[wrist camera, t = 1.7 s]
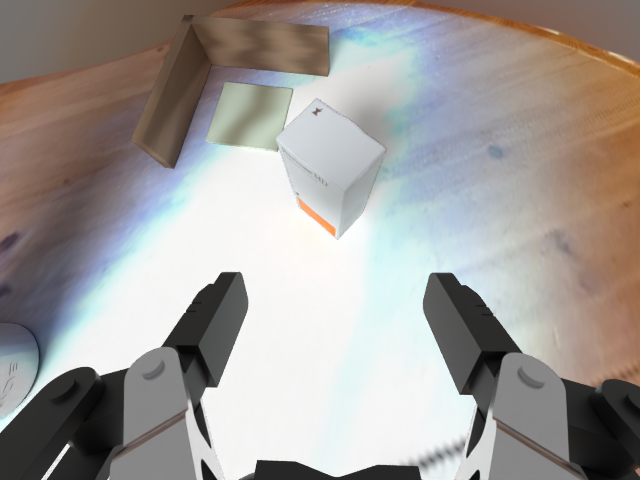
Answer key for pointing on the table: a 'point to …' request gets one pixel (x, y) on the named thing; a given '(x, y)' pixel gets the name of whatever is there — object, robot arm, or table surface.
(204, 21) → the corner arena
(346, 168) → the skincare box
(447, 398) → the table surface
